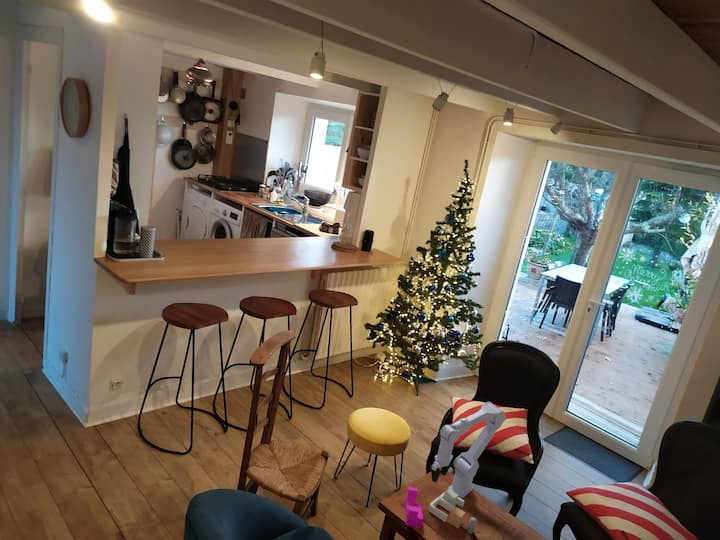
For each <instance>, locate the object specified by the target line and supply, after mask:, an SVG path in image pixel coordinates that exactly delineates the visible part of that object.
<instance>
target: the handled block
mask: <svg viewBox="0 0 720 540" xmlns="http://www.w3.org/2000/svg"><path fill="white" fill-rule="evenodd" d="M465 517H466V512H465V510H462V509H460V508H459V507H457V506H455V507H454V508H453V509H452V510H451V511H449V515H448V518H447V523H448V524H450V525H451V526H452V527H455V528H457V529H458V530H459V529H460V527H461V528H463V529H465V530H466V532H467V533H468V534H470V535H473V534H474V533H473V530H474V529H476V525H477V521H478V519H477V518H476V517H474V516H471V517H470V518H469V522H468V525H467V526H466V525H464V524H463V522H464V519H465ZM474 531H475V530H474ZM472 533H473V534H472Z"/></svg>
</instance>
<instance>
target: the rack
mask: <svg viewBox="0 0 720 540" xmlns="http://www.w3.org/2000/svg"><path fill="white" fill-rule="evenodd" d="M446 491H447V490H446ZM446 491H444V492H442V494H440V495H439V496H437V497H436V498H435V499H434V500H433V501H431V502H430V503H428V507H427V512H429V513H431V514H432V515H434V516H436V517H437V518H438V519H440V520H442V521H443V522H445V523H446V522H447V521H448V517H449V515H448V514H447V513H445V512H443V511H442V510H441V509H439V508H437V506H438V505H439V506H441V507H443V509H445V510H447V511H448V512H450V511H451V510H452V509H453V508H454V507H456V506H458V507H460V508H463V507H464V504H465V500H464V499H463V498H461V497H460V496H458V500H457V504H456V506H453V505H452V504H450V503H449V502H447V501H446V500H444V499H443V496H444V493H445V492H446Z"/></svg>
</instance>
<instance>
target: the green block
mask: <svg viewBox="0 0 720 540" xmlns="http://www.w3.org/2000/svg"><path fill="white" fill-rule="evenodd" d="M444 492H445V491H444ZM444 492H443V493H444ZM458 497H460V496H459V495H458V494H456V493H455V492H453V491H451V490H450V489H448V488H447V490H446V492H445V493H444V496H443V499H444V500H446V501H447V502H449V503H450V504H452V505H453V506H455V507H457V500H458Z"/></svg>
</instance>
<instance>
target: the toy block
mask: <svg viewBox="0 0 720 540" xmlns="http://www.w3.org/2000/svg"><path fill="white" fill-rule="evenodd" d="M417 495H418V488H416V487H412V486H408V487H407V493H406V497H405V502H404V503H405V526H408V527H414V528H419V529H422V525H423V521H424V515H423V512H422V504H421V503H417Z"/></svg>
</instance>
